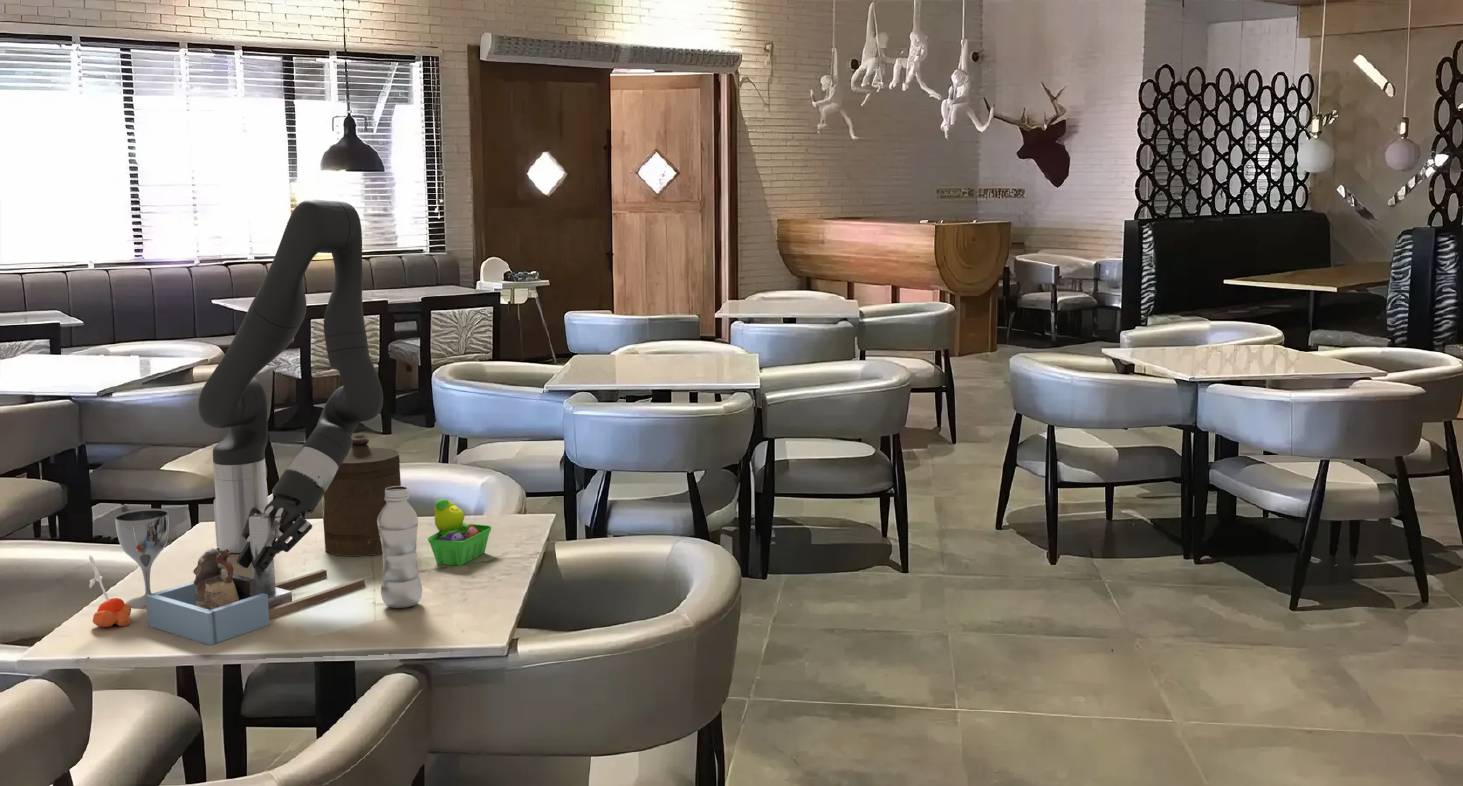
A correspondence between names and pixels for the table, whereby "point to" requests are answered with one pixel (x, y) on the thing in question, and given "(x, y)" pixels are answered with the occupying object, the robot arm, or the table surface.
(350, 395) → the robot arm
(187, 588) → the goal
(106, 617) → the orange lumpy food
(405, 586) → the plastic bottle
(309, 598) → the lane rails
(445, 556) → the fruit basket
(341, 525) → the wooden container
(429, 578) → the table surface
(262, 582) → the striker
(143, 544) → the wine glass
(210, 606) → the figurine
